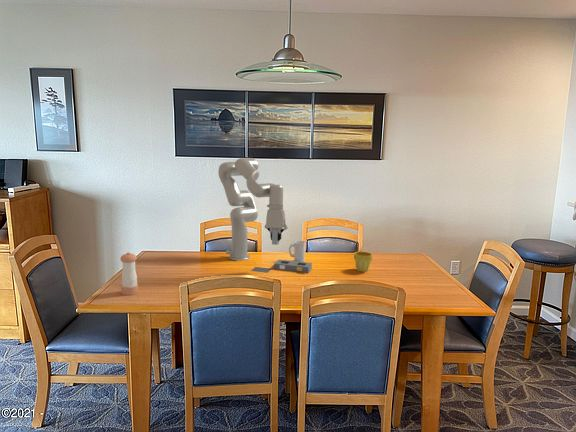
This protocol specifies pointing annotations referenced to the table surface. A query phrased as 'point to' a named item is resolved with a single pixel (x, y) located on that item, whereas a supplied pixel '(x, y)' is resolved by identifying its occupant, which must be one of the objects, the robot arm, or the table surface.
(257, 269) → the mat
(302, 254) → the mug
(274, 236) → the plug
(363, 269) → the plant pot
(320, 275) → the table surface
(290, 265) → the socket strip
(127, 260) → the salt shaker
